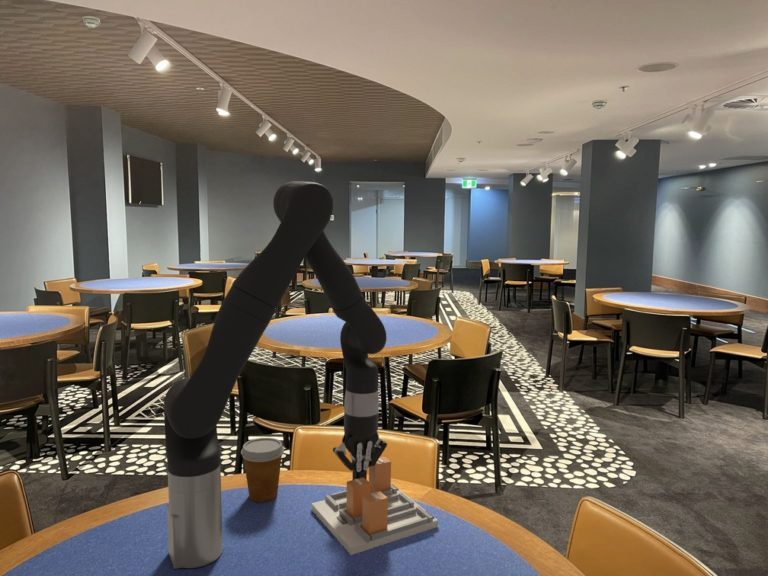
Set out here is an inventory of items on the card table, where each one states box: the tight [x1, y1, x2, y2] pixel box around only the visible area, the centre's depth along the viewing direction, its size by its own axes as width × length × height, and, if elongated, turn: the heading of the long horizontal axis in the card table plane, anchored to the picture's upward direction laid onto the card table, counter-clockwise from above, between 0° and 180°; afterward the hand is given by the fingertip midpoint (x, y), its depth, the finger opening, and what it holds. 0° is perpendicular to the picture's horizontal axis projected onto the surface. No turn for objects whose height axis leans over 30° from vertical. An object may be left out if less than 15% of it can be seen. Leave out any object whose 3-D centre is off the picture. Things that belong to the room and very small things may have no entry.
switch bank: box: [310, 483, 439, 556], centre depth 117 cm, size 20×19×2 cm
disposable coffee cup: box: [240, 437, 285, 503], centre depth 126 cm, size 10×10×12 cm
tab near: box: [362, 491, 388, 537], centre depth 109 cm, size 4×3×7 cm
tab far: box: [368, 456, 392, 493], centre depth 125 cm, size 4×3×7 cm
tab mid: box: [346, 477, 370, 520], centre depth 115 cm, size 4×3×7 cm
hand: (359, 485), depth 123 cm, fingers closed
